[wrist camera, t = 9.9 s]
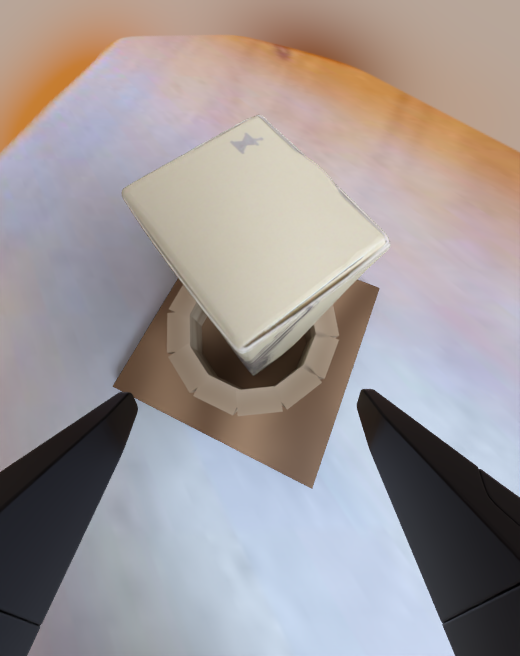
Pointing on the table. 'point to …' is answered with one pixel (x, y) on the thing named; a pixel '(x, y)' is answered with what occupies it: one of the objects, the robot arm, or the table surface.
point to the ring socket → (251, 380)
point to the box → (256, 236)
